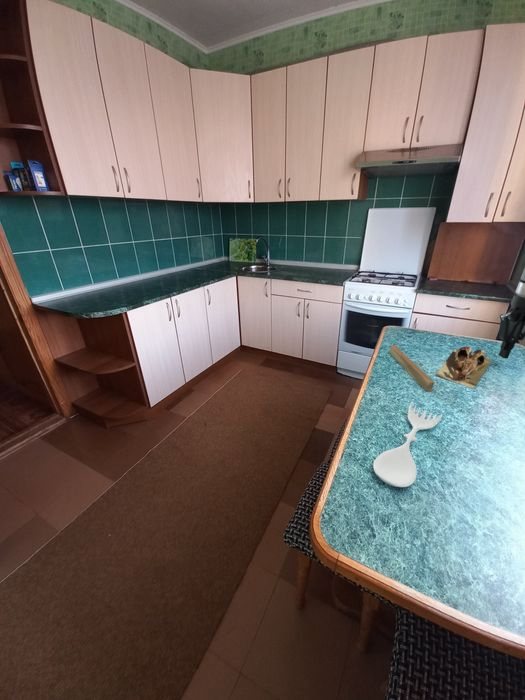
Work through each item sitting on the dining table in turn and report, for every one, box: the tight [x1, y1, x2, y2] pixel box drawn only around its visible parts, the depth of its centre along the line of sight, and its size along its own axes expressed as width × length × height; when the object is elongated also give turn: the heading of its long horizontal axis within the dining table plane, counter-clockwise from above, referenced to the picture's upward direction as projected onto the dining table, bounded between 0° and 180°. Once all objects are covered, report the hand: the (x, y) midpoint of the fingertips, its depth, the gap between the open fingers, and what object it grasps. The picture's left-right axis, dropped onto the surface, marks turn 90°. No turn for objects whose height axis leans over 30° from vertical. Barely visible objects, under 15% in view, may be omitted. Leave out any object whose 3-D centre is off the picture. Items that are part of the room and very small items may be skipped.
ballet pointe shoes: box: [435, 346, 493, 389], centre depth 109 cm, size 14×7×28 cm
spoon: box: [372, 402, 443, 488], centre depth 74 cm, size 9×32×4 cm, turn 139°
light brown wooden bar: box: [389, 344, 435, 392], centre depth 108 cm, size 2×28×4 cm, turn 3°
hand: (503, 356), depth 109 cm, fingers closed
